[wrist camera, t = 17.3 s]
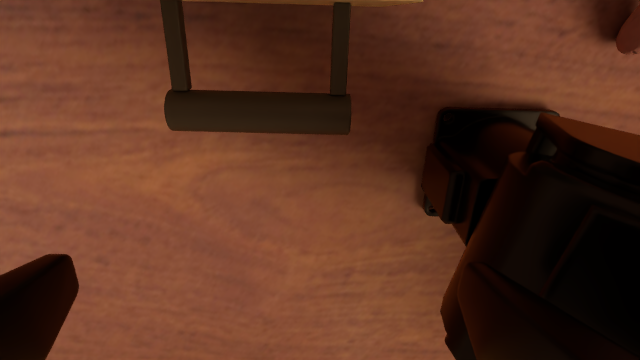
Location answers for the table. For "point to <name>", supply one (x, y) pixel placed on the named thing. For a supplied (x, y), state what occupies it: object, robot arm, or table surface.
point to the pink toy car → (630, 34)
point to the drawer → (261, 107)
